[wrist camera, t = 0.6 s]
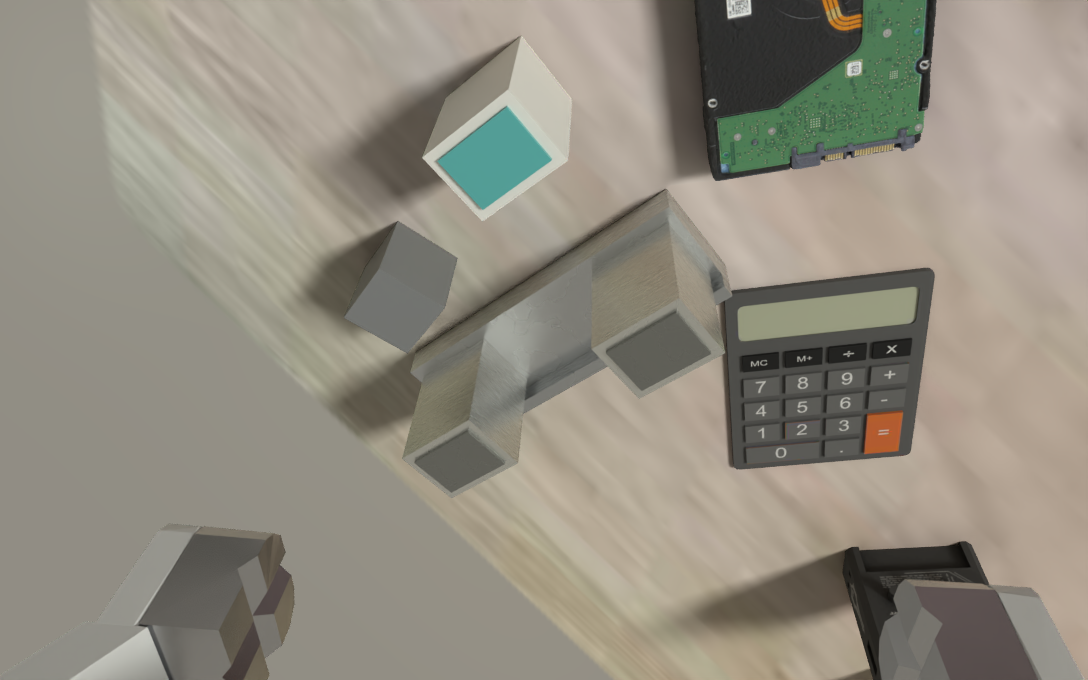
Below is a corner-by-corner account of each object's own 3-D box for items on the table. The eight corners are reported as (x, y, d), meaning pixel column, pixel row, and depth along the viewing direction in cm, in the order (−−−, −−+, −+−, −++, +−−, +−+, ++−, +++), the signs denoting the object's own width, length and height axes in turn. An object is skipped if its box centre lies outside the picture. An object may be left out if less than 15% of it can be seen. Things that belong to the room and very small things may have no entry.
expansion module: (446, 97, 40) (421, 159, 35) (521, 35, 38) (508, 90, 33) (497, 155, 42) (482, 223, 37) (572, 99, 40) (568, 162, 34)
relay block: (364, 267, 47) (343, 317, 43) (398, 220, 45) (379, 268, 41) (422, 301, 48) (407, 353, 44) (457, 257, 46) (444, 307, 42)
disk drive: (672, -157, 34) (707, 163, 42) (677, -149, 32) (713, 187, 40) (932, -222, 32) (913, 126, 41) (957, -218, 30) (931, 149, 38)
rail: (415, 352, 51) (385, 458, 44) (666, 188, 43) (680, 284, 36) (478, 408, 54) (460, 516, 46) (724, 264, 46) (748, 367, 38)
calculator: (734, 472, 55) (724, 296, 46) (732, 462, 56) (722, 287, 47) (911, 457, 54) (936, 271, 45) (906, 447, 54) (931, 262, 45)
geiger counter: (987, 532, 59) (1086, 738, 47) (976, 570, 61) (1067, 773, 50) (840, 540, 60) (900, 741, 48) (836, 576, 63) (891, 775, 51)
